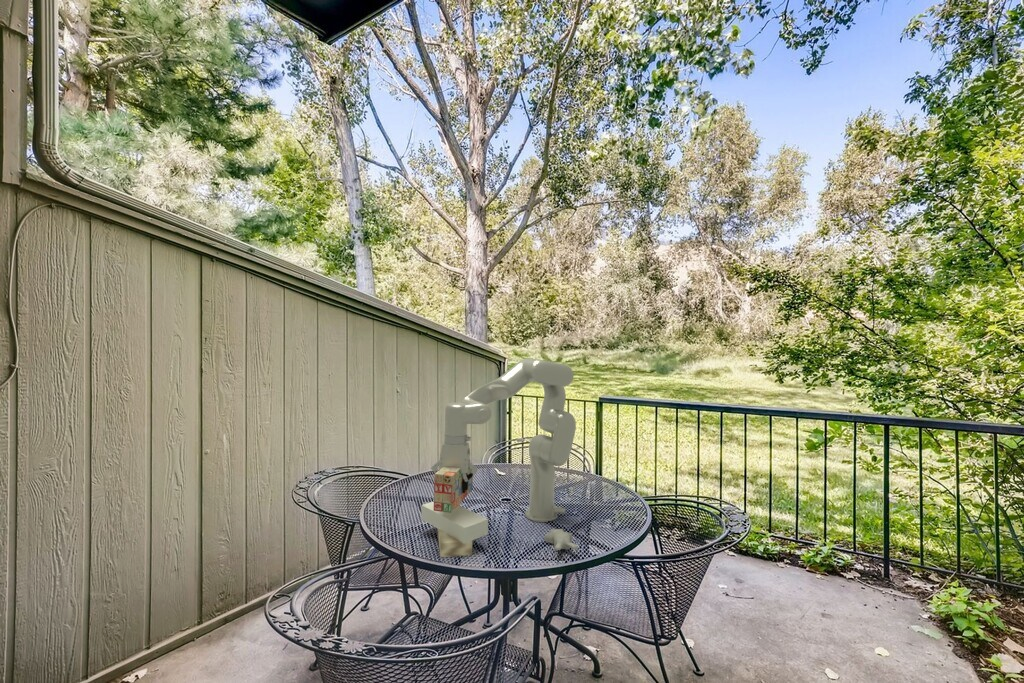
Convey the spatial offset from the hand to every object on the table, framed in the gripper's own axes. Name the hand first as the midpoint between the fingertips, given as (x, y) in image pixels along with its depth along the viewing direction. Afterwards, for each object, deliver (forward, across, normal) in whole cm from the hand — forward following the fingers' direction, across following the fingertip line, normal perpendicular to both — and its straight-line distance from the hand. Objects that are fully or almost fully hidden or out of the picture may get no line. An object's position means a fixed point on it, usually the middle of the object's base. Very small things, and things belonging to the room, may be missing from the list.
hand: (453, 490), depth 154 cm
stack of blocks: (+4, 0, -1) cm, 4 cm away
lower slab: (+17, 0, 0) cm, 17 cm away
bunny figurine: (+17, -37, 0) cm, 41 cm away
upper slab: (+12, 0, 0) cm, 12 cm away
